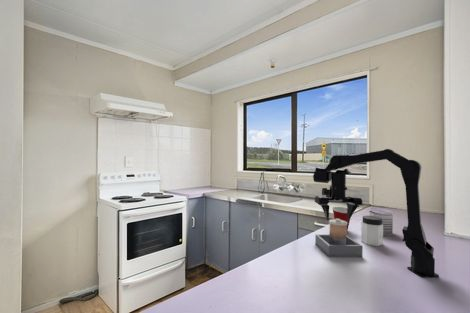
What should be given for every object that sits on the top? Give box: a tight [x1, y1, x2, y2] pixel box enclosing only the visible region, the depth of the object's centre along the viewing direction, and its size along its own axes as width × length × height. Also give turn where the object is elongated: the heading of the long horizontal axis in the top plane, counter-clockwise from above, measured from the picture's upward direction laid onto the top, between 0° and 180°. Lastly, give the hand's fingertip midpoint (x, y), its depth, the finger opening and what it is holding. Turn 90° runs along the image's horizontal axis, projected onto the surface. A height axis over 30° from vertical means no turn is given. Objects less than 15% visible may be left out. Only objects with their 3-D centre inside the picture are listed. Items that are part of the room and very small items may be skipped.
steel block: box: [329, 236, 346, 245], centre depth 103 cm, size 5×5×5 cm
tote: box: [314, 233, 364, 258], centre depth 103 cm, size 14×14×4 cm
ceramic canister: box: [328, 218, 348, 239], centre depth 103 cm, size 7×7×7 cm
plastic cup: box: [331, 206, 351, 231], centre depth 131 cm, size 11×11×12 cm
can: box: [368, 207, 395, 237], centre depth 129 cm, size 11×11×12 cm
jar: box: [360, 215, 384, 247], centre depth 112 cm, size 9×8×12 cm
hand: (337, 220), depth 103 cm, fingers open, 9 cm apart
